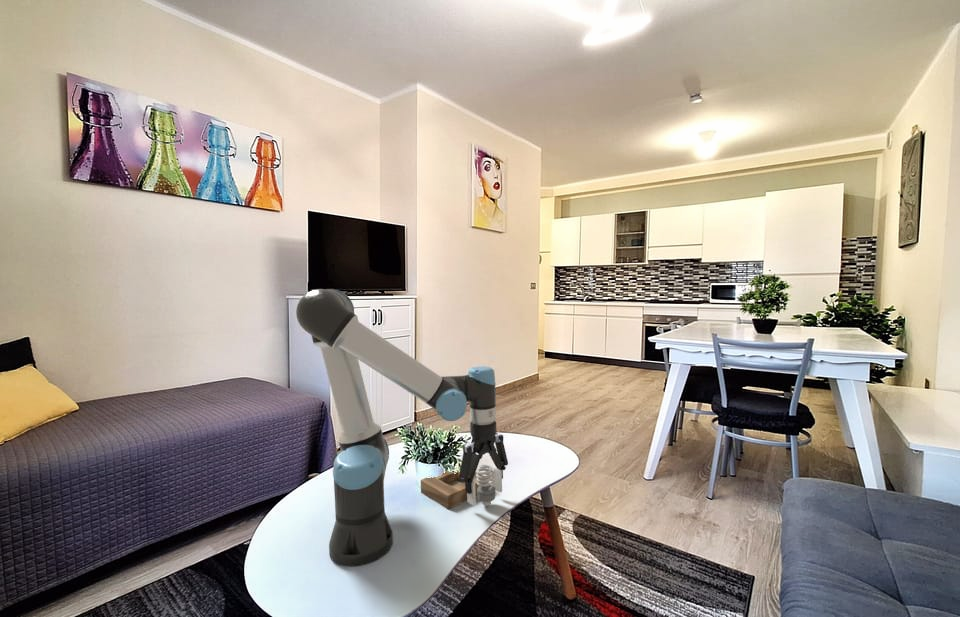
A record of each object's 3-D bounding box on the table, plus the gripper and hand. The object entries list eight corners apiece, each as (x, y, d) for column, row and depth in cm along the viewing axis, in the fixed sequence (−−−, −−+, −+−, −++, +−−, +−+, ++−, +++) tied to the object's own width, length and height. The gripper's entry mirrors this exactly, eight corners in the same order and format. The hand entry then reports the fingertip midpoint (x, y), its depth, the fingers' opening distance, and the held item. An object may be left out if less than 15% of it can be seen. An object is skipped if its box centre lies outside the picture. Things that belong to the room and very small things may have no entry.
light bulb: (472, 506, 121) (471, 466, 120) (485, 499, 125) (484, 459, 124) (487, 513, 117) (486, 471, 116) (500, 505, 121) (499, 464, 120)
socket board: (448, 509, 119) (447, 495, 119) (420, 492, 130) (420, 479, 130) (489, 490, 130) (488, 478, 130) (460, 476, 140) (460, 464, 140)
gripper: (461, 433, 110) (463, 516, 111) (519, 415, 124) (521, 488, 125) (444, 427, 115) (446, 506, 116) (501, 410, 130) (503, 480, 131)
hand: (485, 496), depth 121 cm, fingers open, 10 cm apart
